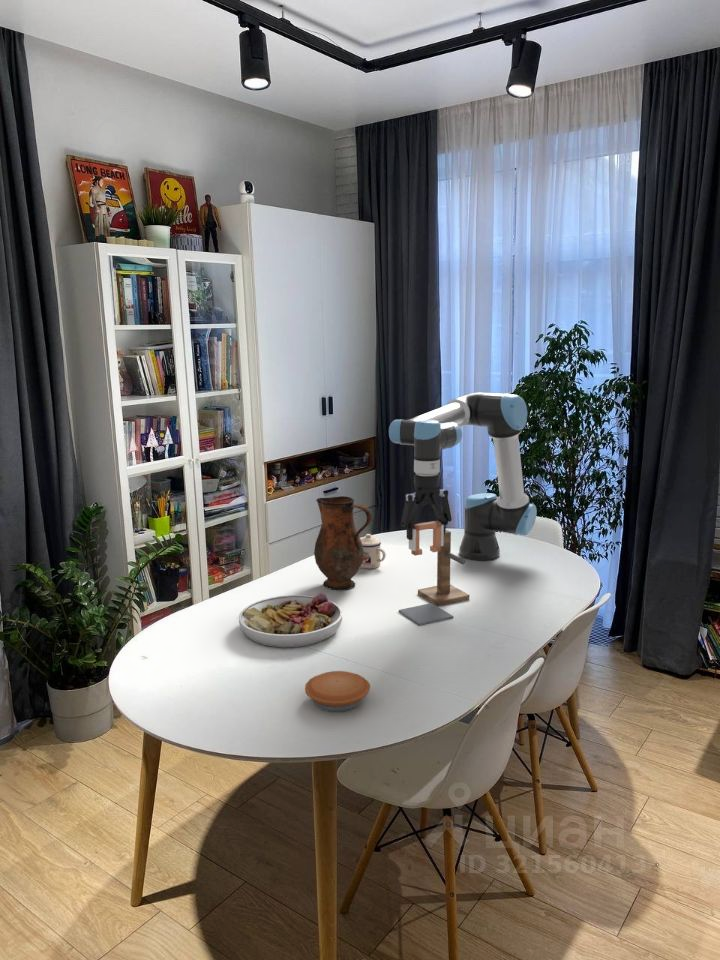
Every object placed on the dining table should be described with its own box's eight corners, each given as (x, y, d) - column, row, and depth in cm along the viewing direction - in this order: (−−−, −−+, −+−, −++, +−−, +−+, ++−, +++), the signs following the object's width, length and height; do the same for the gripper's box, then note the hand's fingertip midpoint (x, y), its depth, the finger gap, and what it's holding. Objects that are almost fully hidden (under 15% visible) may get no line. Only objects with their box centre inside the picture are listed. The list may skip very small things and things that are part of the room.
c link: (436, 549, 230) (437, 520, 228) (440, 551, 228) (441, 522, 226) (411, 553, 226) (411, 524, 224) (414, 555, 224) (415, 526, 222)
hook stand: (417, 593, 248) (418, 529, 243) (448, 587, 253) (449, 524, 249) (445, 611, 234) (446, 542, 229) (477, 604, 239) (479, 537, 234)
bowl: (287, 662, 201) (286, 635, 200) (218, 631, 221) (217, 606, 220) (363, 627, 223) (363, 602, 221) (294, 602, 243) (293, 579, 241)
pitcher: (332, 573, 268) (330, 491, 262) (384, 584, 257) (383, 498, 250) (304, 587, 255) (301, 501, 248) (357, 600, 243) (356, 509, 237)
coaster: (431, 604, 239) (431, 602, 239) (453, 617, 229) (453, 616, 228) (398, 611, 234) (398, 609, 234) (419, 625, 223) (419, 623, 223)
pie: (373, 715, 174) (373, 695, 173) (305, 719, 173) (305, 699, 172) (366, 683, 189) (366, 664, 188) (304, 686, 188) (304, 668, 187)
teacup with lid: (351, 565, 276) (350, 535, 274) (366, 559, 283) (366, 529, 281) (377, 572, 269) (377, 541, 266) (392, 565, 276) (392, 535, 273)
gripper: (401, 479, 213) (400, 556, 218) (465, 471, 223) (463, 545, 228) (388, 474, 220) (388, 549, 225) (450, 467, 230) (449, 538, 234)
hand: (426, 547), depth 226 cm, fingers closed on c link, 9 cm apart
